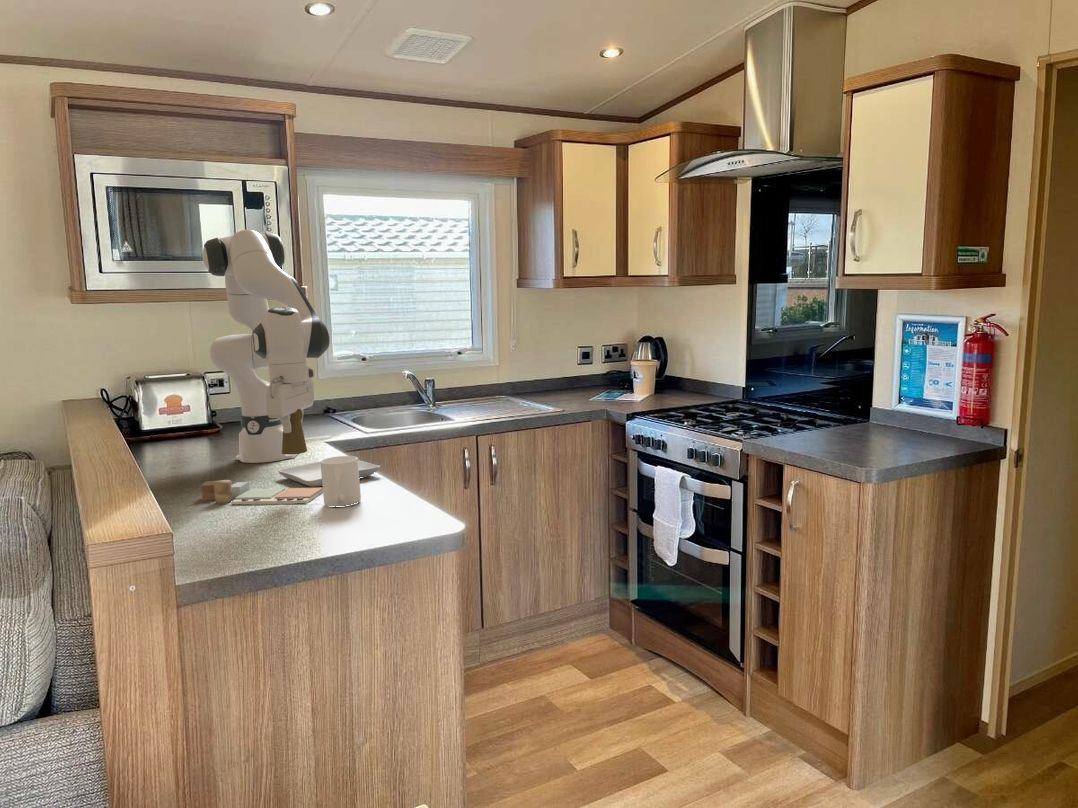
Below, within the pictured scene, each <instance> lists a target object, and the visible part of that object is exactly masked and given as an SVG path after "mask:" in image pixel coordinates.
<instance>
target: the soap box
mask: <svg viewBox="0 0 1078 808" xmlns="http://www.w3.org/2000/svg"><path fill="white" fill-rule="evenodd" d="M231 486H232V498H233V499H236V497H238V496H239V495H241V494H243V493H245V492H247V491H249V490H250V482H249V481H242V482H241V481H237V482H235V483H233V484H231Z"/></svg>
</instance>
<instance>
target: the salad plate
mask: <svg viewBox="0 0 1078 808" xmlns="http://www.w3.org/2000/svg"><path fill="white" fill-rule="evenodd" d="M320 462H321V460H320V461H317V462H316V461H315V462H311V463H306V464H300V465H296V466H290V467H287V468H286V467H285V468H282V469H281V468H280V469H278V470H277V472H278V473H279V475H281V476H282V477H284V478H285V479H288V480H292V481H294V482H297V483H300V484H302V485H304V486H305V485H306V486H309V488H320V487H319V486H322V474H321V463H320ZM358 468H359V478H360V477H365V476H367V477H370V476H372V475H373V474H375V473H376V472H378V471H379V470H380V468H381V465H379V464H378V465H377V464H374V463H370V462H366V461H363V460H359V459H358ZM374 472H375V473H374ZM365 478H366V477H365Z"/></svg>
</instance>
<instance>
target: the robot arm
mask: <svg viewBox="0 0 1078 808" xmlns="http://www.w3.org/2000/svg"><path fill="white" fill-rule="evenodd" d="M286 255H287V254H286V247H285V245H284V243H283V241H282V239H281V237H280V236H279V235H278V234H276V233H273V232H272V233H271V232H265V233H259V232H257V231H256V230H253V229H241V230H240V231H237V232H235V233H234V234H233V235H231V236H225V237H219V238H218V237H215V238H211V239H209V240H207V241H206V242H205V243H204V244H203V249H202V255H201V257H202V262H203V264H204V267H205V268H206V269H207V271H208V273H210V274H211V275H212V276H215V277H224V282H225V283H224V284H225V291H226V298H227V304H228V311H229V315H230V317H231V318H232V319H233V320H234V321H235V322H236V323H238V324H240V325H243V326H245V327H247V328H248V329H250V330H251V331H252V333H240V334H238V333H237V334H229V335H223V336H220V337H217V338H215V339H214V341H212V343H211V345H210V347H209V348H210V349H209V356H210V357H209V358H210V359H211V362H212V363H213V365H214V366H215V367H216V368H218V369H219V370H220V371H222V372H224V373H225V375H227V376H228V377H229V378H230V379H231V380H232V382H233V384H234V385H235V387H236V390H237V393H238V397H239V401H240V407H241V409H240V410H241V415H240V424H241V428H242V429H241V431H240V432H239V433H238V450H239V451H238V455H236V456H235V460H237V461H240V462H242V463H246V464H247V463H250V464H254V463H255V464H259V463H260V464H261V463H271V462H277V461H282V460H287V459H295V458H296V457H297V456H298V455H299V454H291V455H287V454H282V441H283V431H284V433H290V432H292V431H293V425H291V423H290V414H292V413H295V412H296V411H297V410H298V409H301V411H302V413H303V417H302V419H301V424H302V428H303V427H304V425H303V419H304V414H305V413H304V412H305V409H308V408H310V407H312V406H313V404H314V401H315V388H314V387H315V386H314V380H313V379H314V377H315V372H314V369H313V368H311V367H309V366H308V365H307V360H306V359H319V358H320V357H321V356H322V355H323V354H325V353H326V351H327V350H328V349H329V347H330V342H331V341H330V334H329V330H328V328H327V326H326V324H325V323H324V321H322V320H321V319H320V317H319V316H318V314H317V312H316V311H315V310H314V308H313V306H312V305H311V303H310V301H309V300H308V298H307V296H306V294H305V293H304V291H303V290H302V288H301V286H300V285H299V282H298V281H297V280H296V279H295V278H294V277H293V276H292V275H290V274H288V273H287V272H285V271H283V269H281V268H282V267H283V266H284V264H285V259H286ZM268 300H270V301H275V302H279V303H281V304H284V305H286V306H287V307H284V306H282V307H281V306H280V307H273V308H270V306H269V303H268ZM264 369H265V370H266V369H268V374H269V375H268V376H269V381H267V380H264V379H263V378H261V377H259V376H258V375H257V373H256V370H264Z"/></svg>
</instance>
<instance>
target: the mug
mask: <svg viewBox="0 0 1078 808" xmlns="http://www.w3.org/2000/svg"><path fill="white" fill-rule="evenodd" d="M358 460H359V458H358V457H357V456H353V455H340V456H339V455H338V456H331V457H327V458H323V459H321V460H320V461H321V462H320V461H319V462H320V463H321V474H322V486H323V487H322V488H323V493H322V495H323V497H322V498H323V503H324V505H325V506H326V507H327V506H335V507H336V506H346V505H351V504H354V503H357V502H359V501H360V502H361V498H362V497H361V496H362V495H361V494H362V493H361V483H360V482H361V481H360V479H359V468H358ZM360 502H359V503H360Z"/></svg>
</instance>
